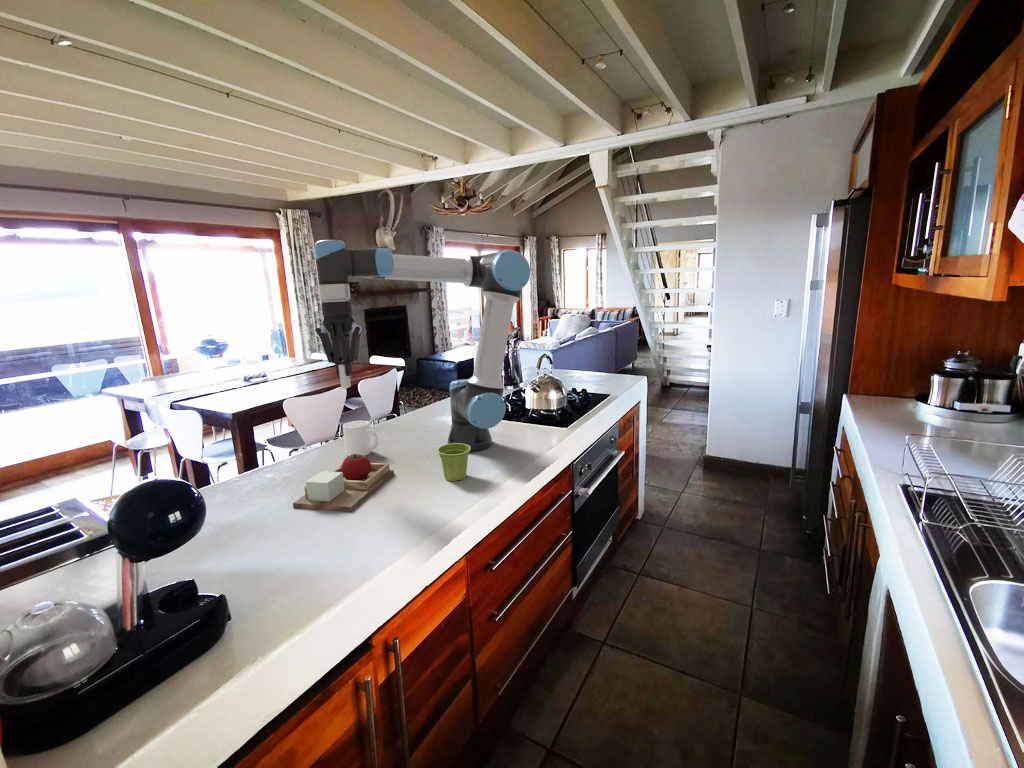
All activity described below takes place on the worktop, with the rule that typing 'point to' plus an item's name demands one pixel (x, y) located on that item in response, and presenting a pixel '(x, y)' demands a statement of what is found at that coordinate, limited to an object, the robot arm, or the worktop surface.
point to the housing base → (350, 491)
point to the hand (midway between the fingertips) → (346, 387)
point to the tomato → (356, 467)
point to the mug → (358, 438)
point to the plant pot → (454, 460)
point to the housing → (325, 486)
